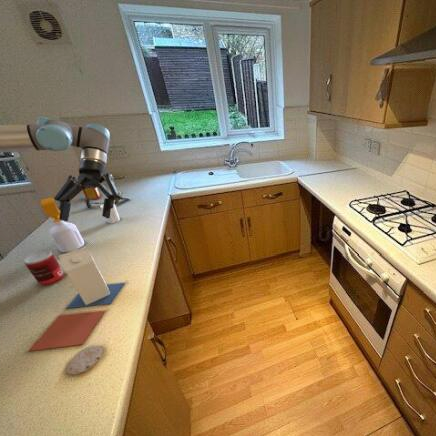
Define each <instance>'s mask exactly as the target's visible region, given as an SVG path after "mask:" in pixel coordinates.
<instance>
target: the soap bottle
mask: <svg viewBox="0 0 436 436" xmlns="http://www.w3.org/2000/svg"><path fill="white" fill-rule="evenodd" d="M40 205H41V207H42V210H43V212H44V213H45V215H46V217H47V218H52V219H53V220H52V222H53V224H54V225H53V226H52V227H51V229H50V230H49V234H50V236H51V238H52V239H53V241H54V243H55V245H56V246H57V248H58V250H59V251H60V252H61V253H68V252H71V251H74V250H77V249H80V248H83V247H84V245H85V240H84V239H83V237H82V234H81V233H80V231H79V229H78V227H77V225H76V224H75V223H72V222H68V221H63V220H60V219H59V216H60V210H59V208H58V207H57V205H56V203H55V199H54V197H46V198H42V199H40Z"/></svg>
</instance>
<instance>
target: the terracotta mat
mask: <svg viewBox="0 0 436 436" xmlns="http://www.w3.org/2000/svg"><path fill="white" fill-rule="evenodd" d="M105 313H106V310H97V311H88V312H80V313H71V314H61V315H58V316H57V318H56V319H55V320H54V321H53V322H52V323H51V324H50V325H49V327H48V328H46V330H45V331H44V332H43V333H42V334H41V336H40V337H39V338H38V339H37V340H36V341H35V342H34V344H33V345H32V346H31V347H30V348H29V349H28V352H37V351H45V350H53V349H62V348H69V347H78V346H83V345H84V343H85V342H86V341H87V339H88V338H89V336H90V335H91V333H92V332H93V330H94V329H95V328H96V326H97V325H98V324H99V322H100V321H101V320H102V318H103V316H104V315H105Z"/></svg>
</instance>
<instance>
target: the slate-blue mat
mask: <svg viewBox="0 0 436 436" xmlns="http://www.w3.org/2000/svg"><path fill="white" fill-rule="evenodd" d="M125 284H126V283H125V282H119V283H108V284H107V287H108V289H109V291H110V295H108V296H105V297H103V298H101V299H99V300H97V301H94V302H92V303H90V304H88V305H85V303H84V301H83V300H82V298H81V296H80V295H79V293H77V295H76V296H75V297H74V298H73V299H72V300H71V302H69V304H68V305H67V306H66V308H65V309H66V310H70V309H79V308H88V307H97V306H106V305H112V303H113V302H114V300H115V299H116V297H117V296H118V295H119V293H120V291H121V290H122V288H124V286H125Z"/></svg>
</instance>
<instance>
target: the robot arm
mask: <svg viewBox="0 0 436 436" xmlns="http://www.w3.org/2000/svg"><path fill="white" fill-rule="evenodd" d="M110 139H111V133H110V131H109V130H108V128H106V127H105V126H103V125H100V124H97V123H88V124H87V125H86V126H85V127H84V126H83V127H82V126H78V125H74V124H72V123H68V122H64V121H62V120H58V119H56V118H49V117H46V116H40V117H38V119H37V122H36V124H0V153H17V152H31V151H32V152H33V151H52V152H61V151H66V150H68V149H69V148H70V147H75V148H80V149H81V153H80V158H79V161H80V162H79V164H78V173H79V174H78V176H74V175H71V174H70V175H68V177H67V179H66V181H65V182H64V184H63V185H62V186H61V188H60V189H59V191H58V192H57V193H56V194H55V196H54V197H53V198H54V201H57V202H59V207H58V211H60V216H59V219H60V220H63V221H64V222H68V221H69V217H70V212H71V207H72V203H71V201H72V200H73V199H74V198H75V197H76V196H77V195H79V194H80V193H81V192H83V190H85V189H86V188H96V187H97V188H98V190H100V191H101V192H102V193H103V194H104V196H105V197H106V198H105V197H104V199H103V203H104V206H103V212H102V214H101V215H102V217H103V218H105V219H106V218H110V211H111V209H112V208H113V204H114V203H115V199H117V198H118V199H119V198H120V197H122V196H120V194H119V192H118V191H119V190H118V188H117V187H116V186H117V185H116V184H115V182H114V176H113V175H112V174H110V173H108V172H106V169H107V162H108V154H109V148H110V144H111V143H110V142H111V140H110ZM104 181H106V184H107V186H108V188H109V189H107V188H106V186H105V185H104V184H103V182H104ZM80 184H81V185H82V186H80ZM109 190H110V191H109Z"/></svg>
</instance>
